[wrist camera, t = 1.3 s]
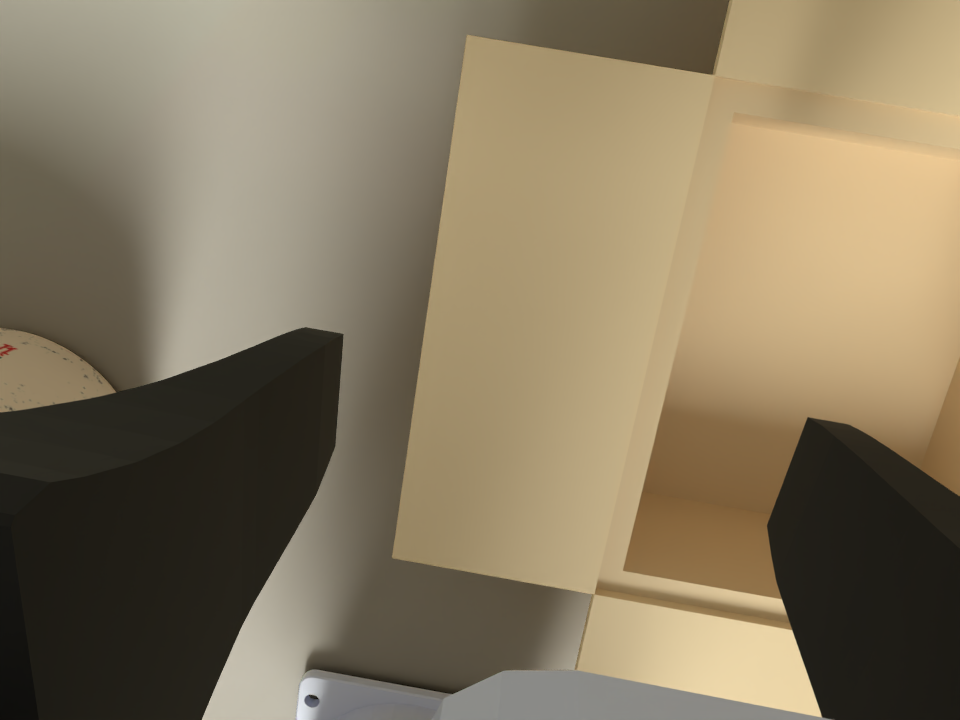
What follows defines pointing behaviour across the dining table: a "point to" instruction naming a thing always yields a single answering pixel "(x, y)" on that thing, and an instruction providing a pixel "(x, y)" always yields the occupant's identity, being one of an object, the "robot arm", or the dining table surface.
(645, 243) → the carton
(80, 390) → the teacup with lid
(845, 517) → the robot arm
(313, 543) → the dining table surface
